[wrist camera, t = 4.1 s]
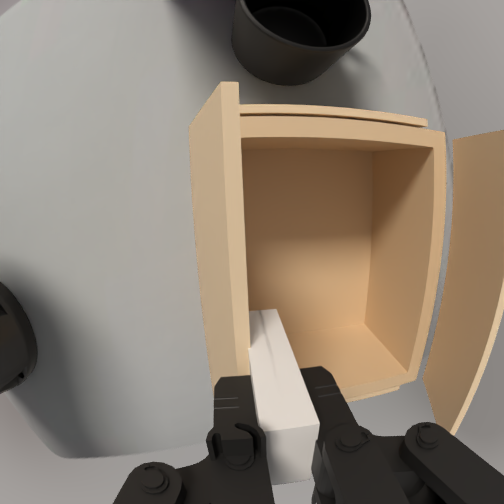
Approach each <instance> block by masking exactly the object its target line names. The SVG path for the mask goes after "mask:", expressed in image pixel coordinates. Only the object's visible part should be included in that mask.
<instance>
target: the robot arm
mask: <svg viewBox="0 0 504 504" xmlns="http://www.w3.org/2000/svg"><path fill="white" fill-rule="evenodd" d="M249 328H250V348H249V349H248V355H249V372H250V375H243V376H228V377H220V379H219V380H218V382H217V383H216V385H215V386H214V427H213V428H212V429H211V430H210V431H209V432H208V435H207V439H206V443H207V447H208V452H209V455H208V456H207V457H206V458H205V459H204V460H202V461H200V462H199V463H196V464H193V465H190V466H186V467H182V468H178V469H175V468H173V467H172V466H170V465H167V464H165V463H161V462H150V463H144V464H142V465H140V466H138V467H136V468H135V469H134V470H133V471H132V472H131V473H130V474H129V476H128V478H127V480H126V481H125V483H124V485H123V486H122V488H121V490H120V492H119V494H118V495H117V497H116V499H115V501H114V503H113V504H275V503H274V497H273V492H272V486H271V485H278V484H286V483H293V482H299V481H305V480H310V478H311V473H312V474H313V477H314V481H315V487H314V491H313V495H312V504H316V502H317V504H504V476H503V475H502V474H501V473H500V472H498V471H497V470H496V469H495V468H493V467H492V466H491V465H489V464H488V463H487V462H486V461H484V460H483V459H482V458H481V457H479V456H478V455H477V454H476V453H474V452H473V451H472V450H470V449H469V448H468V447H467V446H466V445H464V444H463V443H462V442H460V441H459V440H458V439H457V438H456V437H454V436H453V435H452V434H451V433H449V432H448V431H447V430H446V429H445V428H443V427H441V426H440V425H438V424H435V423H430V422H424V423H418V424H416V425H413V426H412V427H411V428H410V429H409V430H407V433H406V435H405V436H385V437H384V436H375V435H372V433H371V432H370V431H369V430H367V429H365V428H363V427H362V426H359V425H358V424H357V422H356V420H355V418H354V416H353V414H352V412H351V410H350V409H349V406H348V404H347V402H346V401H345V399H344V397H343V395H342V394H341V391H340V389H339V387H338V385H337V383H336V381H335V379H334V377H333V375H332V373H330V372H329V371H328V370H326V369H325V368H324V367H322V366H316V367H309V368H301V369H299V367H298V364H297V362H296V359H295V357H294V354H293V351H292V349H291V346H290V343H289V341H288V338H287V336H286V333H285V330H284V328H283V325H282V322H281V320H280V317H279V314H278V312H277V309H268V310H256V311H249ZM36 360H37V347H36V341H35V337H34V334H33V331H32V328H31V325H30V323H29V321H28V319H27V317H26V315H25V313H24V311H23V309H22V308H21V306H20V304H19V303H18V301H17V300H16V299H15V297H14V296H13V295H12V293H11V292H10V291H9V290H8V289H7V288H6V287H5V286H4V285H3V284H2V283H1V282H0V394H1V393H4V392H6V391H8V390H10V389H12V388H14V387H16V386H18V385H19V384H21V383H22V382H24V381H25V380H26V378H27V377H28V376H29V374H30V373H31V372H32V371H33V369H34V367H35V364H36Z"/></svg>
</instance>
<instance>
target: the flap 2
mask: <svg viewBox="0 0 504 504" xmlns="http://www.w3.org/2000/svg"><path fill="white" fill-rule="evenodd" d="M453 168H454V180H453V211H452V226H451V238H450V248H449V256H448V264H447V272H446V278H445V285H444V291H443V296H442V302H441V307H440V312H439V317H438V321H437V326H436V330H435V334H434V338H433V342H432V346H431V350H430V354H429V358H428V361H427V365H426V368H425V372H424V375H423V381H424V384H425V387H426V390H427V394H428V397H429V400H430V403H431V407H432V410H433V413H434V417H435V420H436V424H438V425H440V426H441V427H443V428H445V429H446V430H447V431H448V432H449V433H451V434H452V435H453V436H454V435H455V433H456V431H457V429H458V427H459V425H460V423H461V421H462V420H463V417H464V415H465V413H466V411H467V409H468V407H469V405H470V403H471V401H472V398H473V396H474V394H475V391H476V389H477V387H478V384H479V382H480V380H481V377H482V375H483V372H484V369H485V367H486V364H487V361H488V359H489V356H490V353H491V350H492V347H493V344H494V341H495V338H496V335H497V331H498V328H499V324H500V321H501V317H502V314H503V310H504V130H500V131H495V132H490V133H484V134H479V135H474V136H469V137H464V138H459V139H454V140H453Z"/></svg>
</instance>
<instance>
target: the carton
mask: <svg viewBox="0 0 504 504" xmlns="http://www.w3.org/2000/svg"><path fill="white" fill-rule="evenodd" d="M239 107H240V132H241V156H242V179H243V202H244V224H245V246H246V267H247V288H248V308H249V311H256V310H268V309H277V312H278V314H279V317H280V320H281V322H282V325H283V328H284V330H285V333H286V336H287V338H288V341H289V343H290V346H291V349H292V351H293V354H294V357H295V359H296V362H297V364H298V367H299V369H301V368H309V367H316V366H322V367H324V368H325V369H326V370H328V371H329V372H330V373H332V375H333V377H334V379H335V381H336V383H337V385H338V387H339V389H340V391H341V394H342V395H343V397H344V399H345V401H346V402H347V403H348V402H353V401H357V400H361V399H365V398H369V397H373V396H377V395H381V394H385V393H388V392H392V391H396V390H399V388H400V385H401V384H405V383H408V382H411V381H415V380H416V377H417V374H418V371H419V367H420V363H421V360H422V356H423V352H424V348H425V344H426V340H427V336H428V332H429V327H430V323H431V318H432V313H433V308H434V302H435V297H436V291H437V285H438V278H439V271H440V264H441V256H442V246H443V236H444V223H445V206H446V143H445V132H440V131H434V130H429V129H423V128H420V127H427V126H428V125H427V119H423V118H417V117H412V116H406V115H400V114H393V113H386V112H379V111H371V110H363V109H353V108H342V107H330V106H314V105H289V104H242V105H239Z"/></svg>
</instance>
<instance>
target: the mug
mask: <svg viewBox="0 0 504 504" xmlns="http://www.w3.org/2000/svg"><path fill="white" fill-rule="evenodd" d="M370 21H371V10H370V5H369V2H368V0H236V3H235V11H234V20H233V29H232V47H233V50H234V53H235V55H236V57H237V59H238V60H239V62H240V63H241V64H242V65H243V66H244V67H245V68H246V69H247V70H248V71H249V72H250V73H252V74H253V75H255V76H256V77H258V78H260V79H262V80H264V81H267V82H270V83H273V84H278V85H299V84H304V83H307V82H310V81H312V80H314V79H315V78H317V77H318V76H320V75H321V74H322V73H323V72H324V71H326V70H327V69H328V68H329V67H330V66H331V65H332V64H334V63H335V62H336V61H337V60H338V59H339V58H340V57H342V56H343V55H344V54H345V53H346V52H348V51H349V50H350V49H351V48H352V47H353V46H355V45H356V44H357V43H358V42H359V41H360V40H361V39H362V38H363V37H364V36H365V34H366V33H367V31H368V29H369V25H370Z"/></svg>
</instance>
